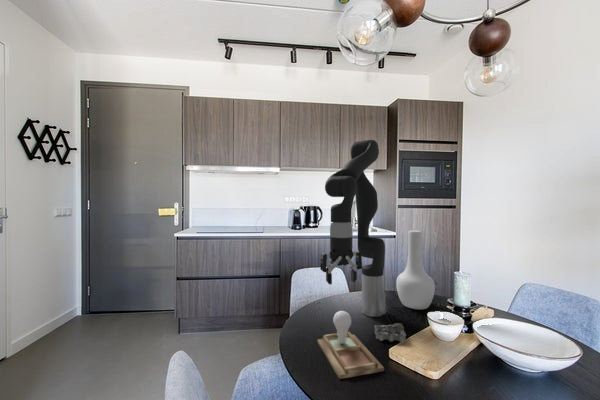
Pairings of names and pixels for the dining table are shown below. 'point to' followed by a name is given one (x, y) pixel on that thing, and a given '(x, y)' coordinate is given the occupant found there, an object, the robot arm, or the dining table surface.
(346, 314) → the lightbulb
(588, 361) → the dining table surface
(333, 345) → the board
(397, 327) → the egg carton
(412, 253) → the vase
